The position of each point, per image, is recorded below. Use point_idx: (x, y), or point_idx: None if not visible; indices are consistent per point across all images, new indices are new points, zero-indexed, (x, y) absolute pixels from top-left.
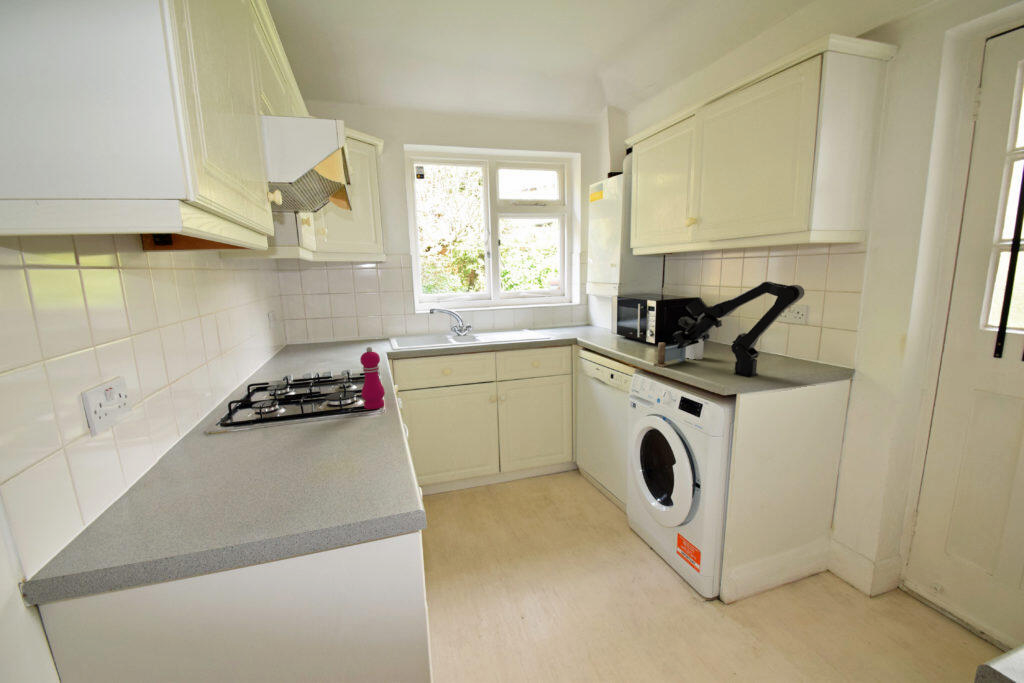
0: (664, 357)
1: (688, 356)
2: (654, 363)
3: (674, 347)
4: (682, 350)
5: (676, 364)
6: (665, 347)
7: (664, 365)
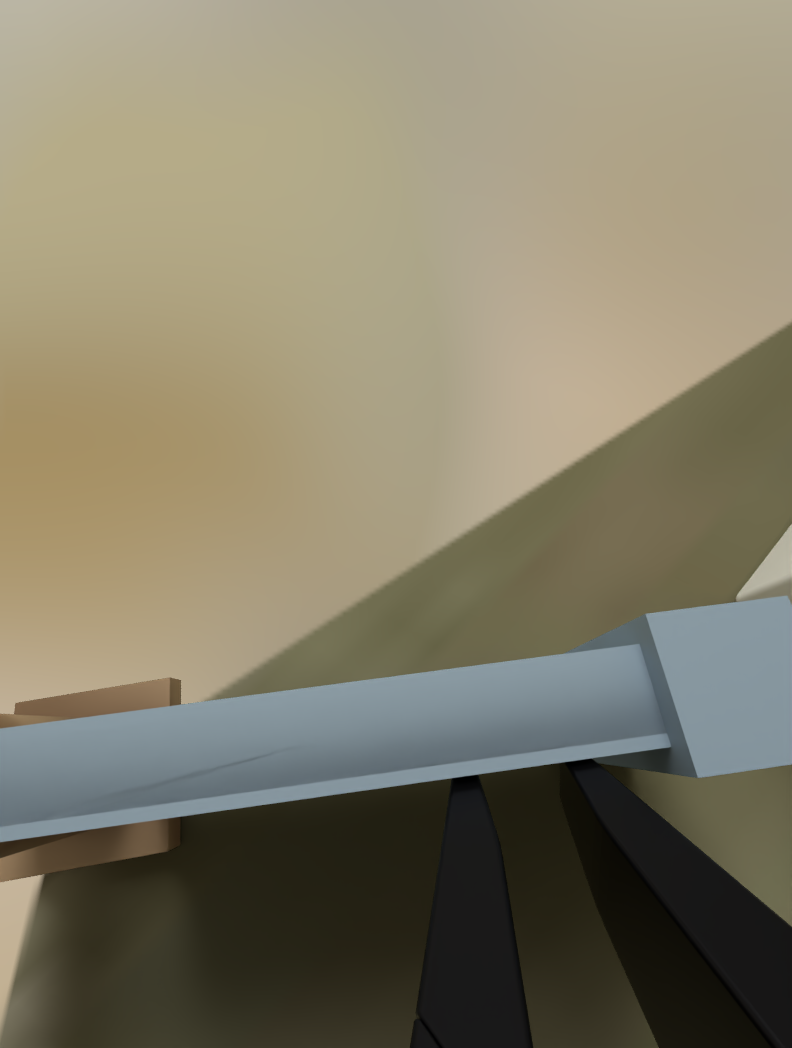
0: (17, 852)
1: None
2: (34, 701)
3: (346, 789)
4: (621, 765)
5: (350, 845)
6: (69, 729)
7: (63, 867)
